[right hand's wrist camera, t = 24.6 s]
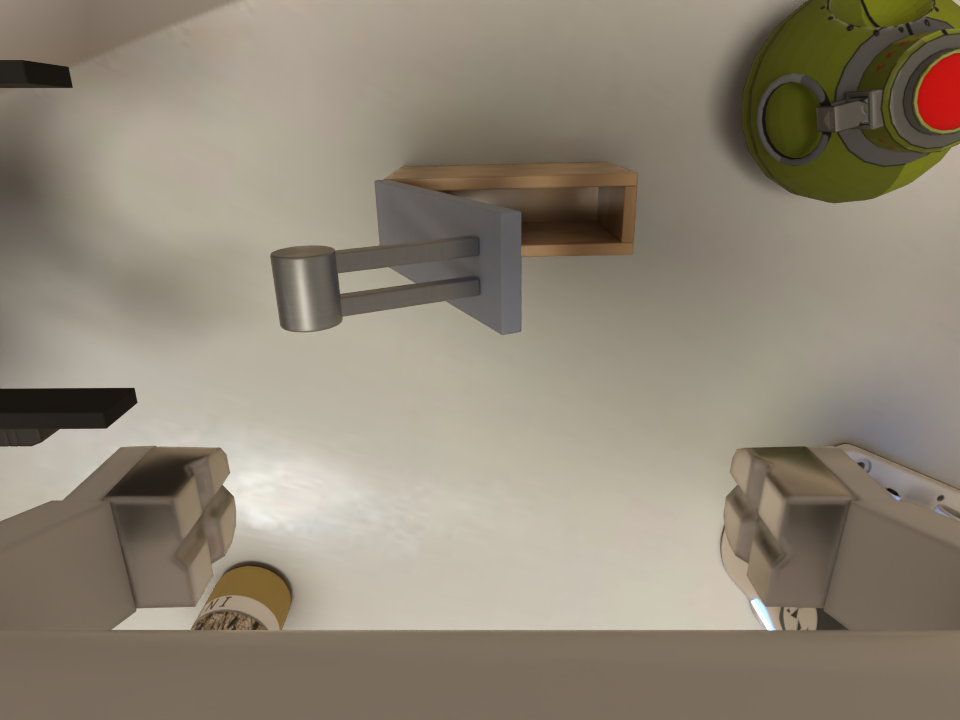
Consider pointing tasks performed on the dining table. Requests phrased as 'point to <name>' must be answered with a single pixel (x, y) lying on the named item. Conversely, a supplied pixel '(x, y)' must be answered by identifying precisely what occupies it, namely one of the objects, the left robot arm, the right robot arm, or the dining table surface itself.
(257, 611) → the paper tube
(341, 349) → the dining table surface
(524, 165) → the brown rectangular box
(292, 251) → the lid
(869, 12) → the grenade
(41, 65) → the left robot arm
